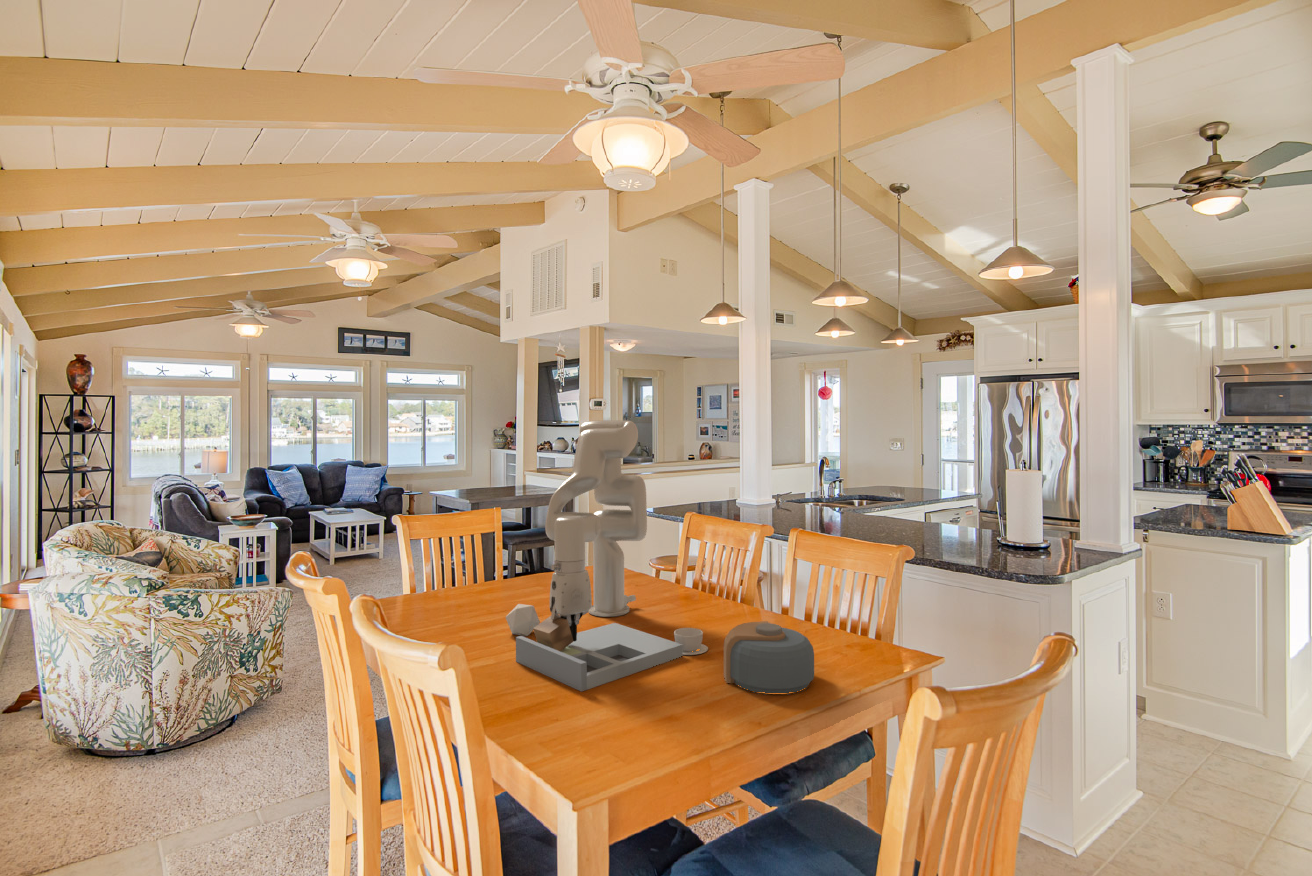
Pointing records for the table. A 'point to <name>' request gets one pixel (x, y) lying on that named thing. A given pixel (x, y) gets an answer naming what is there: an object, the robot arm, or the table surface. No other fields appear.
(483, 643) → the table surface
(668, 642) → the board
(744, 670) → the grey knobbed dome
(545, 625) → the walnut block
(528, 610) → the die
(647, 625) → the table surface
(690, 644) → the teacup
